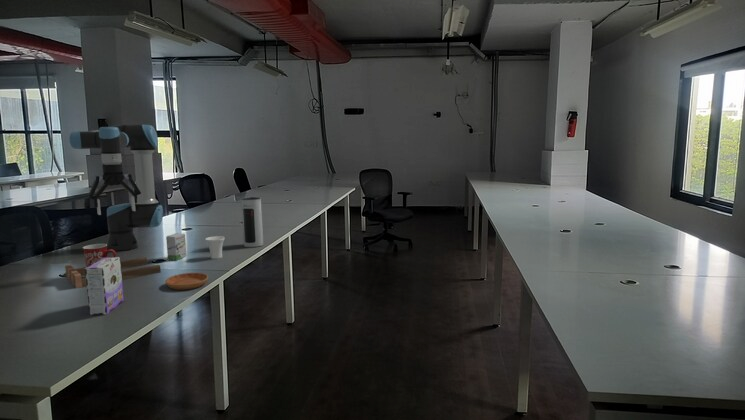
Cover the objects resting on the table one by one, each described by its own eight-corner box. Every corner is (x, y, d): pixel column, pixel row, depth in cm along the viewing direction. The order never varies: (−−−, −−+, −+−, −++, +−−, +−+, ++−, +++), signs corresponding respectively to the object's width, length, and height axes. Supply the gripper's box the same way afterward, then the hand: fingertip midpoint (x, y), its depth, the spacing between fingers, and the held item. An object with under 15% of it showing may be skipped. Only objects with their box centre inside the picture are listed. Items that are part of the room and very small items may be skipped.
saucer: (182, 294, 181) (182, 286, 180) (157, 287, 189) (156, 280, 189) (217, 283, 194) (216, 276, 194) (191, 277, 202) (191, 270, 202)
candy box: (107, 301, 173) (103, 257, 170) (124, 300, 173) (120, 256, 171) (88, 315, 159) (83, 267, 157) (107, 314, 160) (102, 267, 157)
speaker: (239, 246, 256) (237, 198, 252) (251, 242, 266) (249, 196, 262) (255, 248, 252) (253, 199, 248) (267, 244, 262) (265, 196, 258)
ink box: (176, 260, 228) (174, 236, 226) (167, 260, 229) (165, 236, 227) (187, 256, 236) (185, 233, 234) (178, 256, 237) (176, 232, 235)
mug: (81, 280, 198) (77, 248, 196) (92, 274, 207) (89, 243, 204) (112, 280, 198) (109, 248, 196) (122, 273, 207) (119, 243, 205)
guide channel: (66, 277, 202) (65, 265, 202) (145, 263, 224) (145, 252, 223) (76, 288, 188) (75, 275, 187) (160, 272, 209) (159, 261, 208)
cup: (229, 257, 234) (228, 237, 233) (212, 260, 227) (211, 240, 226) (220, 254, 240) (219, 234, 239) (203, 257, 233) (201, 237, 232)
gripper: (80, 165, 193) (85, 217, 196) (145, 162, 209) (149, 210, 213) (76, 164, 198) (82, 214, 202) (140, 161, 214) (144, 208, 218)
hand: (116, 212), depth 207 cm, fingers open, 13 cm apart
